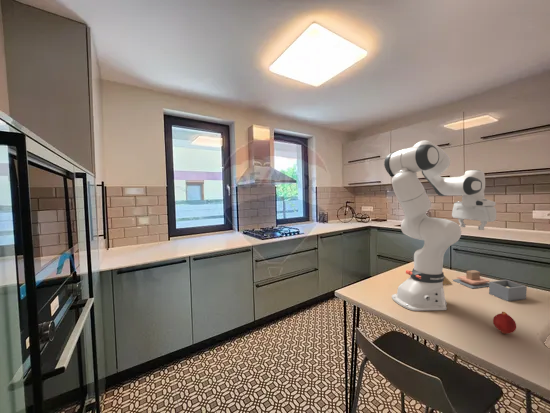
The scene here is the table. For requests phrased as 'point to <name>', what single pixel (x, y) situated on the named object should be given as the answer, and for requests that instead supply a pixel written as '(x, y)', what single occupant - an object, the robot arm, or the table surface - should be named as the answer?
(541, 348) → the table surface
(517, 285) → the storage box
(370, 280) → the table surface
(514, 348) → the table surface
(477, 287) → the mat
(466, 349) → the table surface
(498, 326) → the onion
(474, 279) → the lid
